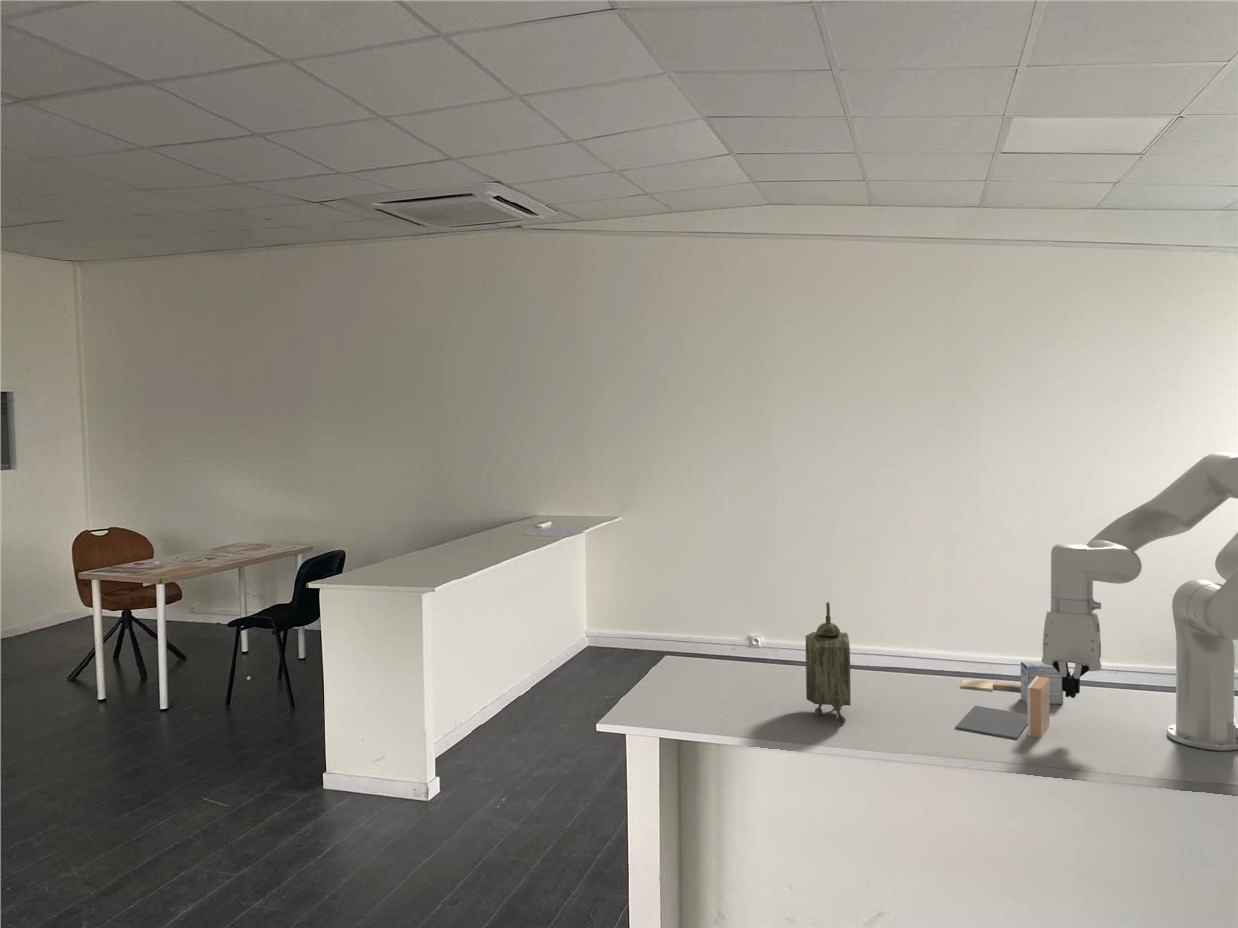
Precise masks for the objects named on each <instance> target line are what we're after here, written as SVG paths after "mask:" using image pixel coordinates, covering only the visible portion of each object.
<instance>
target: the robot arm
mask: <svg viewBox="0 0 1238 928" xmlns="http://www.w3.org/2000/svg"><path fill="white" fill-rule="evenodd" d="M1231 498H1233V499H1238V453H1236V452H1235V453H1234V452H1223V451H1222V452H1213V453H1210V454H1208V455H1206V456H1204V457H1202V458H1201V459H1199V461H1197V462H1196V463H1195V464H1194V465H1192V466H1191V467H1190V468H1189V469H1188V470H1186V471H1185V472H1184V473H1182V474H1181V475H1180V476H1179V477H1178V478H1176V480H1173V482H1172V483H1171V484H1169V485H1168V486H1167V487H1166V488H1165V489H1163V490H1162V491H1160V493H1158V494H1157V495H1156V496H1154V498H1151V500H1148V501H1147V502H1145V503H1143V504H1141V505H1139V506H1138V507H1136V508H1134V509H1132V510H1131V511H1128V512H1126V513H1125V514H1123V515H1121V516H1119V517H1117V518H1116V519H1115V520H1113V521H1112V522H1111V523H1110V524H1108V525H1107V526H1106V527H1104V528H1103V529H1102V530H1101V531H1099V532H1098V533H1097V534H1096V535H1094V537H1092V538H1091V539H1090V540H1089V541H1088V542H1087V543H1086V544H1081V543H1070V542H1069V543H1068V542H1067V543H1058V544H1055V545H1053V547H1051V552H1050V553H1051V554H1050V608H1047V611H1046V615H1045V618H1044V619H1045V620H1044V626H1043V637H1042V658H1041V662H1042V663H1044V664H1047V665H1050V666H1053V667H1054V668H1055V669H1056V670H1057V671H1058V672H1059V673H1060V675H1061V676H1062V691H1063V692H1064V694H1065V695H1064V697H1066V698H1071V699H1075V697H1076V695H1077V694H1080V691H1081V677H1083V676H1084V675H1086V673H1088V672H1097V671H1101V669H1102V663H1101V660H1100V659H1101V657H1102V644H1101V643H1102V642H1101V628H1100V621H1099V616H1098V613H1097V612H1094V611H1095V610H1101V609H1102V602H1099V601H1098V602H1097V601H1096V600H1094V582H1101V583H1108V584H1119V585H1121V584H1127V583H1130V582H1132V581H1134V580H1136V579H1137V578H1138V577H1139V575H1140V574H1141V572H1142V568H1143V567H1142V566H1143V564H1142V560H1141V558H1140V557H1139V555H1138V554H1137V553H1136V551H1138V550H1139V549H1141V548H1142V547H1144V546H1147V544H1150V543H1152V542H1155V541H1157V540H1160V539H1165V538H1168V537H1173V536H1174V537H1175V536H1176V535H1180V534H1183V533H1186V532H1189V531H1190V530H1191V529H1192V528H1194V527H1196V526H1197V525H1198V524H1199V523H1201V521H1202V520H1204V519H1205V518H1206V517H1207V516H1209V515H1210V514H1211V513H1212V512H1214V511H1215V510H1216V509H1217V508H1218V507H1220V506H1221V505H1222V504H1224V503H1225V502H1226V501H1227V500H1228V499H1231ZM1214 564H1215V565H1214V566H1215V570H1216V572H1217V574H1218V575H1219V576H1220V577H1221V578H1222V579H1224V580H1225V582H1224V583H1223V584H1220V583H1218V582H1216V581H1213V580H1208V579H1192V580H1191V579H1190V580H1187V581H1186V582H1184V583H1182V584H1181V585H1180V586H1178V588H1177V589H1176V590H1175V592H1174V595H1173V597H1172V602H1171V609H1172V616H1173V617H1172V618H1173V622H1174V629H1175V636H1176V637H1175V640H1176V641H1175V642H1176V643H1175V645H1176V650H1175V651H1176V659H1175V661H1176V665H1175V666H1176V667H1175V668H1176V672H1175V674H1176V675H1175V679H1176V680H1175V682H1176V683H1175V685H1176V686H1175V696H1176V697H1175V723H1174V724H1173V723H1172V724H1170V725H1169V726H1167V727H1166V735H1167V736H1168V738H1170V739H1171V740H1173V741H1175V742H1177V743H1179V744H1182V745H1184V746H1189V747H1191V748H1197V749H1203V750H1210V751H1220V752H1221V751H1222V752H1223V751H1225V752H1226V751H1228V752H1229V751H1235V750H1236V751H1237V750H1238V723H1237V717H1235V665H1236V664H1235V659H1236V656H1235V645H1234V641H1238V531H1237V532H1236V533H1235V534H1234V535H1233V537H1232V538H1231V539H1230V540H1229V541H1228V542H1227V543H1226V544H1225V545H1224V546H1223V547H1222V548H1221V550H1220V551H1219V552H1218V554H1217V556H1216V558H1215V563H1214ZM1069 663H1070V664H1074V669H1073V672H1072V673H1071V672H1070V670H1069V669H1070V668H1069Z"/></svg>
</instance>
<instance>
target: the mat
mask: <svg viewBox="0 0 1238 928" xmlns="http://www.w3.org/2000/svg"><path fill="white" fill-rule="evenodd" d="M1026 728H1028V713H1023V712H1016V711H1010V710H1004V709H999V708H998V709H997V708H992V707H986V706H979V705H974V706H973V707H972V708H971V709H970V710H969V712H967V713H966V714H965V716H964V717H962V719H960V721H959V722H958V723H957V724H956V725H955V727H954V729H956V730H960V731H966V732H967V731H968V732H973V733H978V734H983V735H989V736H995V737H998V738H1000V737H1001V738H1006V739H1011V740H1019V737H1020V736H1021V735H1022V733H1023V732H1024V731H1025V729H1026Z"/></svg>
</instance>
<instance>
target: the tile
mask: <svg viewBox="0 0 1238 928" xmlns="http://www.w3.org/2000/svg"><path fill="white" fill-rule="evenodd" d="M1027 700H1028V704H1027V714H1028V725H1027V736H1028V737H1033V738H1036V739H1037V738H1038V739H1042V737H1043V736H1044V734H1045V733H1046V731H1047V730H1048V728H1049V727H1050V704H1049V678H1046V677H1039V676H1036V677H1035V679H1034V680H1033V681H1032V682H1031V683H1030V685H1029V686H1028V687H1027Z"/></svg>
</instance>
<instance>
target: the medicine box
mask: <svg viewBox="0 0 1238 928" xmlns="http://www.w3.org/2000/svg"><path fill="white" fill-rule="evenodd" d="M1036 676H1039V677H1046V678H1049V705H1063V704H1064V691H1062V676H1061V675H1060V673H1059V672H1058V671H1057V670H1056V669H1055V668H1054V667H1053V666H1050V665H1047V664H1044V663H1042V661H1020V685H1021V691H1020V698H1021V699H1022V700H1023V702H1025V703H1026V704H1027V705H1028V700H1027V687H1028V686H1029V685H1030V683H1031V682H1032V681H1033V680H1034V679H1035V677H1036Z"/></svg>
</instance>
